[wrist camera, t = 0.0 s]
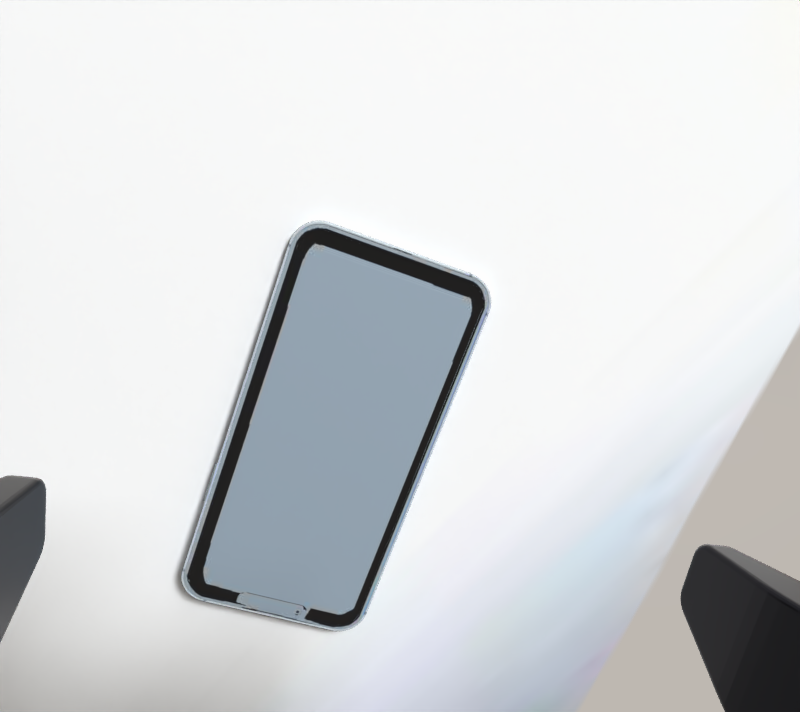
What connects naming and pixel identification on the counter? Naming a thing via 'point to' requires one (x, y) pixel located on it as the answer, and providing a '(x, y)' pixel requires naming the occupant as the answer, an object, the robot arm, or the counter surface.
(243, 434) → the smartphone
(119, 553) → the counter surface
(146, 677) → the counter surface
